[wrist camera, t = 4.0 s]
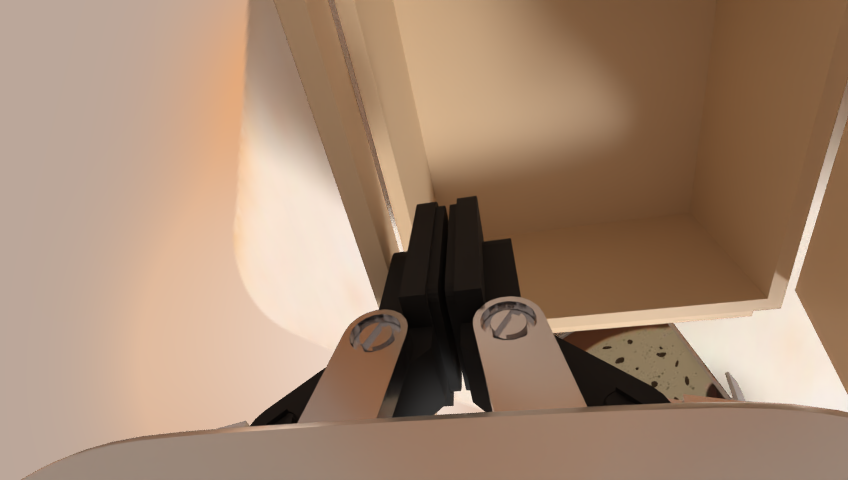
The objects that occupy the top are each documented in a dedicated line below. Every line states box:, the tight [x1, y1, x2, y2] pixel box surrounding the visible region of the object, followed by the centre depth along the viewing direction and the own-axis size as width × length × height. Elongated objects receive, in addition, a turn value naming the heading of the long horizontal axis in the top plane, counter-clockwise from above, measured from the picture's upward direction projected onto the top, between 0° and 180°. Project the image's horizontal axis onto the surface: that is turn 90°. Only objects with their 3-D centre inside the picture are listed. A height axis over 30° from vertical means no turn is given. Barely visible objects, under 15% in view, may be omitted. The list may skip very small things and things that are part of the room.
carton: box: [334, 0, 848, 333], centre depth 18 cm, size 15×17×8 cm
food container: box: [559, 323, 745, 401], centre depth 26 cm, size 12×6×10 cm, turn 138°
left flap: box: [274, 0, 437, 415], centre depth 14 cm, size 6×14×1 cm
